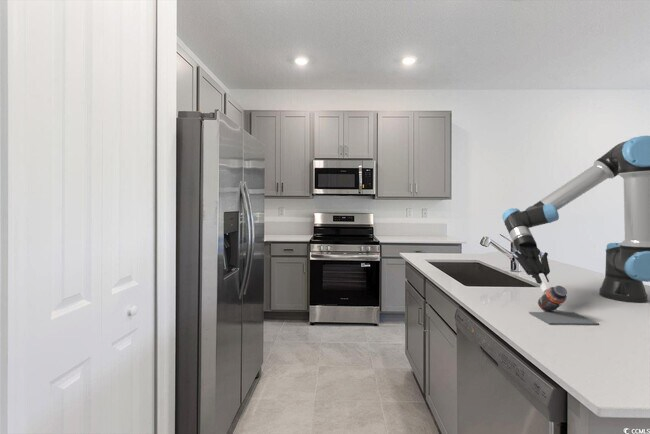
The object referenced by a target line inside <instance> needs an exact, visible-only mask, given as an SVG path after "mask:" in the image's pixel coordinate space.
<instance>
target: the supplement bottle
mask: <svg viewBox="0 0 650 434" xmlns="http://www.w3.org/2000/svg"><path fill="white" fill-rule="evenodd" d="M567 295H568V291H567V288H565V286H562V285H554V286H552V287H551V286H550V288H549V289H548V290H547V291H546V292H545V293H543V294H542V295H541V297H539V299H538V301H537V305H538V306H539V309H541V310H542V311H543V312H556V310H558V308H560V306H561V305H562V304H564V302H566V300H567Z"/></svg>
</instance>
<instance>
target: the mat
mask: <svg viewBox="0 0 650 434" xmlns="http://www.w3.org/2000/svg"><path fill="white" fill-rule="evenodd" d="M528 313H529V315H532V316H534V317H535V318H537V319H539V320H541V321H542V322H544V323H545V324H548V325H551V326H552V325H553V326H555V325H557V326H559V325H560V326H561V325H563V326H567V325H568V326H569V325H570V326H599V325H600V323H598V322H597V321H594V320H592V319H590V318H588V317H585V316H583V315H581V314H580V313H577V312H571V311H570V312H569V311H565V312H564V311H560V312H559V311H554V312H546V311H529V312H528Z"/></svg>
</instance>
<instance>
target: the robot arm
mask: <svg viewBox="0 0 650 434" xmlns="http://www.w3.org/2000/svg"><path fill="white" fill-rule="evenodd" d="M617 176H620V177H621V178H622V179H623V208H624V209H623V211H624V212H623V213H624V240H623V241H621V242H609V243H607V244H606V248H605V275H604V279H603V281H602V283H601V285H600V288H599V292H598V294H599V295H600V296H601V297H604V298H607V299H610V300H611V299H612V300H615V301H623V302H629V303H647V302H648V300H649V298H648V297H649V296H648V294H647V291H646V288H645V285H644V283H643V282H645V283H646V282H647V283H648V282H649V283H650V135H639V136H634V137H632V138H630V139H628V140H626V141H622V142H620V143H617V144H616V145H615V146H613V147H612V148H611V149H609V151H607V152H606V153H605V154H603V155H602V156H601V157H599V158H598V159H596V160H594V162H593V165H591V166H590V167H589V168H587V169H586V170H584V171H583V172H580V174H578V175H577V176H575V177H574V178H572V179H570V180H569V181H567V182H566V183H565V184H563V185H561V186H560V187H558V188H556V189H555V190H553V191H552V192H551V193H549V194H548V195H546V196H545V197H543V198H541V199H540V200H539V201H537V202H536V203H534V204H533V205H531V206H528V207H526V208H525V210H522V211H521V210H520V209H519V208H513V207H511V208H508V209H507V210H505V211H504V212H503V213H502V217H501V218H502V220H503V223H504V226H505V227H506V230H507V232H508V234H509V236H510V239H511V241H512V243H513V245H514V248H515V252H514V253H513V254H512V257H513V258H514V259H515V260H516V262H517V263H519V265H520V267H522V269H523V270H524V272H525V273H526V275H528V276H531V278H533V279H534V280H535V282H536V284H539V285H538V286H539V287H540V289H541V291H542V293H543V294H544V293H545V292H546V291H547V290H548V289H549V288H551V285H550V280H549V277H548V275H549V274H550V273H551V269H550V264H549V261H548V260H549V259H548V256H549V254H548V252H546V251H545V252H542V251H541V250H540V249H539V248H538V246H537V242H536V240H535V238H534V236H533V234H532V232H531V230H530V228H533V227H538V226H541V225H546V224H551V223H554V222H556V221H558V220H559V219H560V215H559V212H558V211H559V210H560V209H562V208H563V207H565V206H566V205H568V204H569V203H571V202H573V201H574V200H576V199H577V198H579V197H581V196H582V195H583V194H585V193H587V192H589V191H590V190H592V189H594V188H595V187H597V186H598V185H599V184H601V183H603V182H605V180H607V179H614V178H615V177H617ZM646 301H647V302H646Z"/></svg>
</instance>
